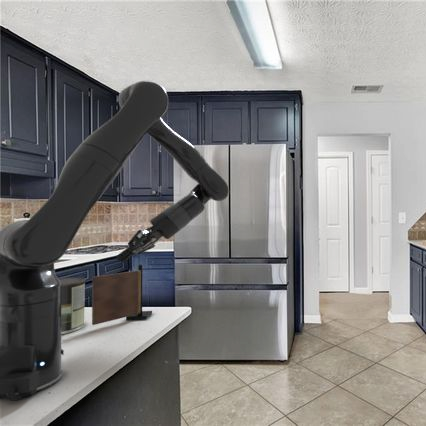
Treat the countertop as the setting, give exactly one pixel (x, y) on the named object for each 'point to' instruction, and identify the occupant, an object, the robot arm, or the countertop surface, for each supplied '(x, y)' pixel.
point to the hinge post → (143, 314)
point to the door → (115, 296)
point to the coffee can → (72, 304)
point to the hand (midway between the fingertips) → (118, 260)
